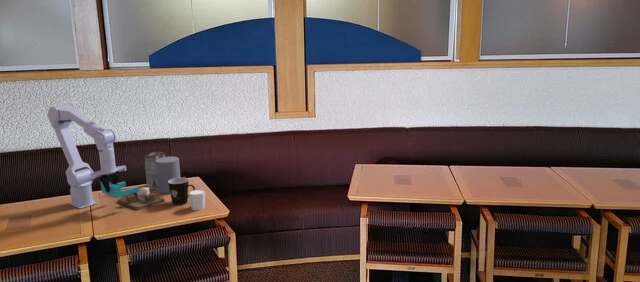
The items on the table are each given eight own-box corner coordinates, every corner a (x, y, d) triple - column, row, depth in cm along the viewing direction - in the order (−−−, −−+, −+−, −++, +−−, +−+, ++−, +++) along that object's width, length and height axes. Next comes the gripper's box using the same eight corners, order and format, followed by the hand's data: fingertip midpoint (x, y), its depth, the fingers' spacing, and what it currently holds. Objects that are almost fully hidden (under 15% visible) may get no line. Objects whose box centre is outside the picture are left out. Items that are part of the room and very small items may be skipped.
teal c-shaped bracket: (124, 185, 229) (123, 176, 228) (139, 191, 222) (138, 181, 221) (101, 192, 222) (100, 182, 221) (116, 198, 214) (114, 187, 213)
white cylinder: (186, 208, 221) (184, 193, 219) (198, 203, 227) (197, 188, 225) (197, 211, 217) (196, 196, 216) (209, 206, 223) (208, 191, 221)
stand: (144, 194, 240) (142, 182, 239) (164, 201, 230) (163, 189, 229) (117, 202, 230) (116, 190, 229) (137, 210, 220) (136, 197, 219)
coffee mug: (166, 202, 229) (164, 180, 226) (183, 197, 235) (181, 176, 232) (180, 209, 221) (178, 186, 218) (197, 203, 226) (196, 181, 224)
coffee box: (156, 183, 256) (153, 151, 252) (168, 183, 255) (165, 151, 251) (146, 189, 247) (143, 156, 243) (159, 189, 246) (156, 156, 242)
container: (154, 193, 240) (151, 162, 237) (164, 186, 250) (161, 156, 247) (176, 194, 239) (173, 162, 235) (184, 187, 249) (182, 156, 245)
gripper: (94, 165, 207) (99, 197, 211) (128, 157, 218) (132, 188, 221) (86, 162, 212) (90, 193, 215) (120, 154, 223) (123, 184, 226)
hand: (111, 190), depth 219 cm, fingers closed on teal c-shaped bracket, 2 cm apart
